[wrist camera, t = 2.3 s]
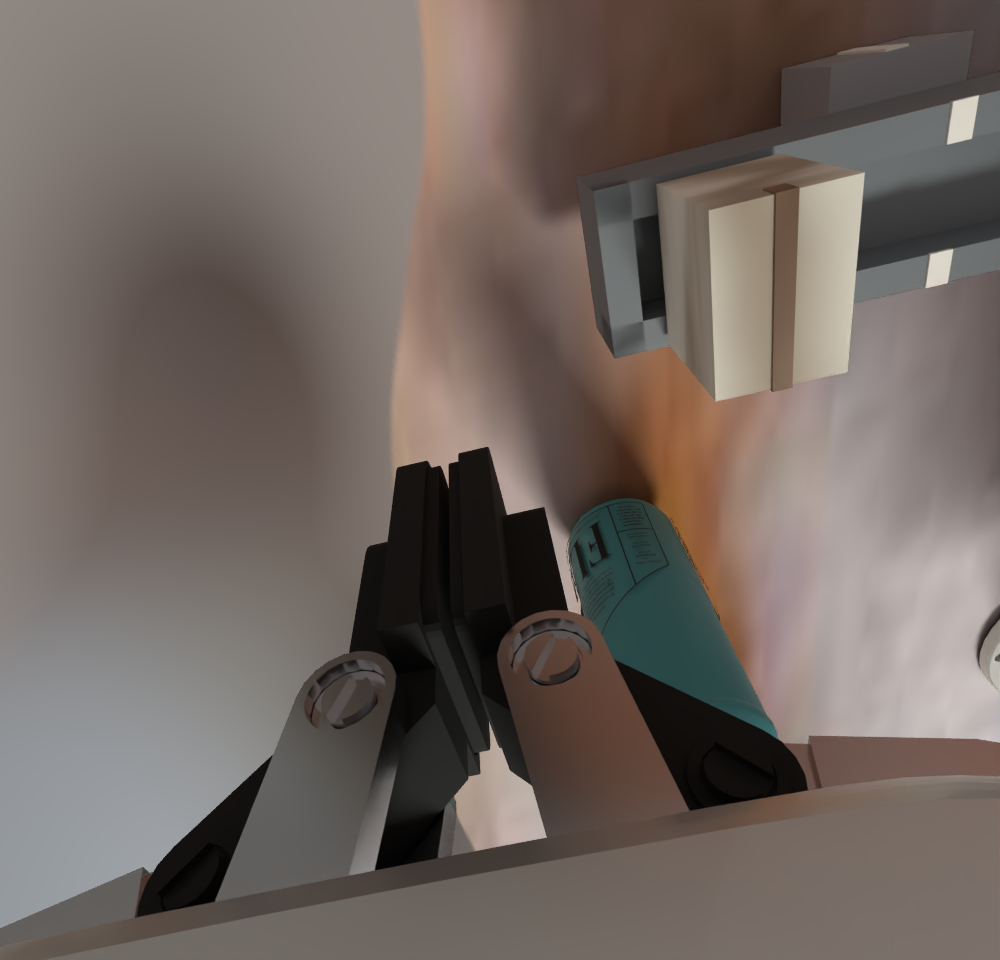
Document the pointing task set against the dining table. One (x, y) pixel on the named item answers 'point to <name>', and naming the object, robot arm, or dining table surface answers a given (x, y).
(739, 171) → the rider
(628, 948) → the robot arm
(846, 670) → the dining table surface
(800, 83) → the beam
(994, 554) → the dining table surface
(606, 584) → the beverage bottle
